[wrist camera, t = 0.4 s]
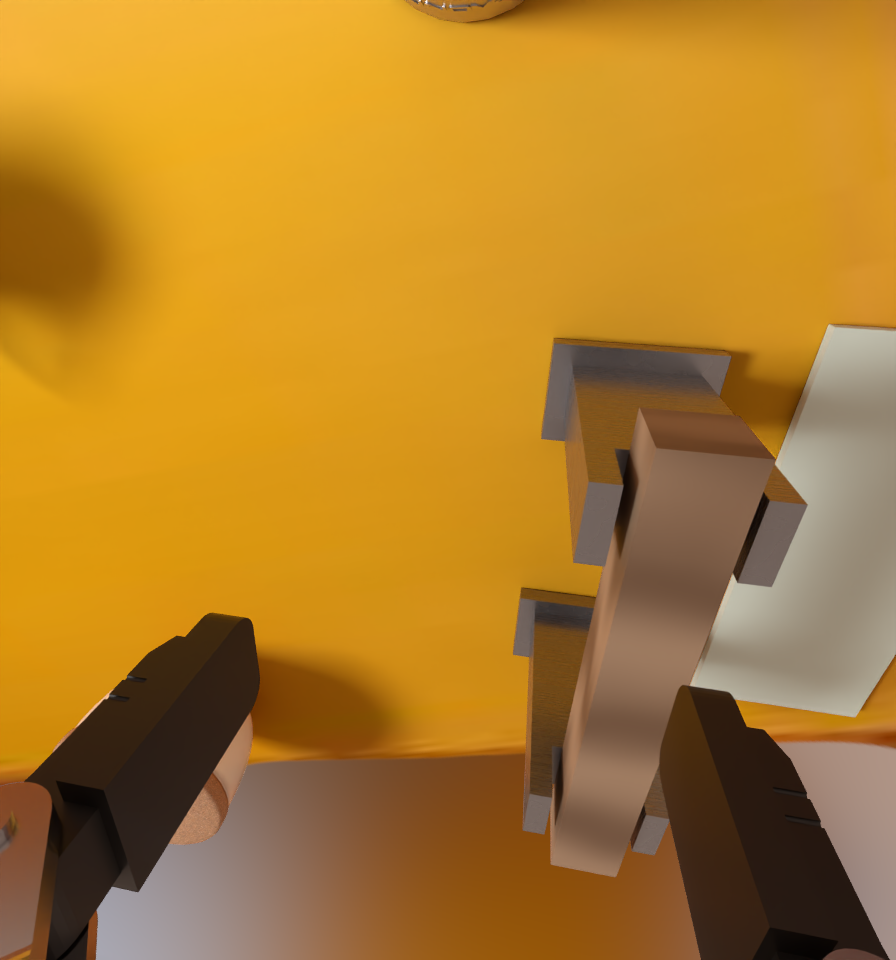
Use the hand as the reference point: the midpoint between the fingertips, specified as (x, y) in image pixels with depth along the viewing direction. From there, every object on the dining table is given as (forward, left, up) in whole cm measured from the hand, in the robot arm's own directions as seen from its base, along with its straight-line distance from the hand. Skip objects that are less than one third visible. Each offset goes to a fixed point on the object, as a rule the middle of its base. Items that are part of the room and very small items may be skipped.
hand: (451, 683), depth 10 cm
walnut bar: (+9, +6, -10) cm, 14 cm away
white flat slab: (+9, +19, -20) cm, 29 cm away
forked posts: (+9, +6, -20) cm, 22 cm away
